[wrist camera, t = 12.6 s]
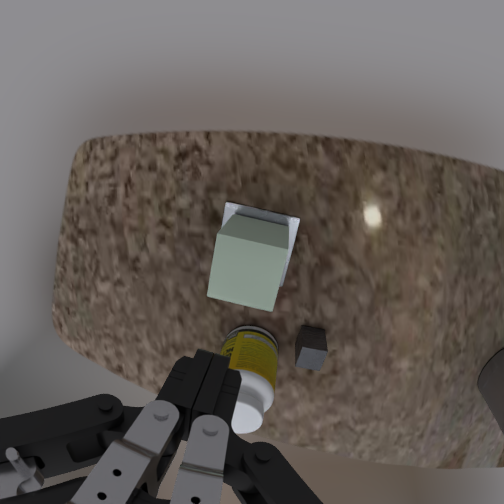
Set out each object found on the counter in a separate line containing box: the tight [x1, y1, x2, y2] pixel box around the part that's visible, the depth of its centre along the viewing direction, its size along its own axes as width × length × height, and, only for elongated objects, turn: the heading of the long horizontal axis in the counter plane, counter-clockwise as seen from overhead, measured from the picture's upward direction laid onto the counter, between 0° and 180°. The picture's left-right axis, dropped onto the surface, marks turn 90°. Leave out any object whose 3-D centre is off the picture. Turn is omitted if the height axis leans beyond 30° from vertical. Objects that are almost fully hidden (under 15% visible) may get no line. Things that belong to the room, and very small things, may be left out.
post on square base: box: [221, 201, 300, 286], centre depth 27 cm, size 7×7×7 cm
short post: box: [295, 325, 328, 371], centre depth 31 cm, size 3×3×4 cm
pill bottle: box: [220, 326, 278, 433], centre depth 29 cm, size 6×6×11 cm
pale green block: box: [207, 214, 289, 312], centre depth 26 cm, size 5×5×7 cm
